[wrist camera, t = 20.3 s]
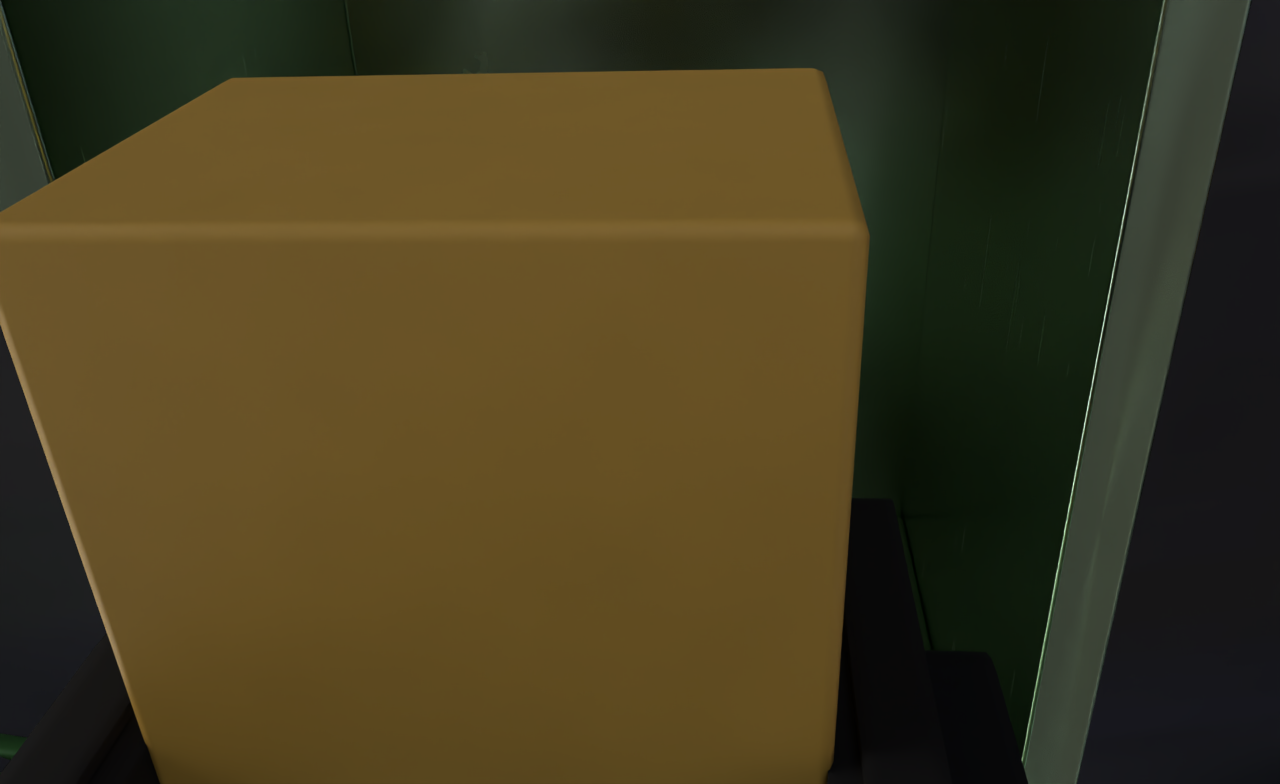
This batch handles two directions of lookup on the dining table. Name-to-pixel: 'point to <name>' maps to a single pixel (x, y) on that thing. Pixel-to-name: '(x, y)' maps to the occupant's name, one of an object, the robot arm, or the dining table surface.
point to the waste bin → (898, 248)
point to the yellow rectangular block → (460, 423)
